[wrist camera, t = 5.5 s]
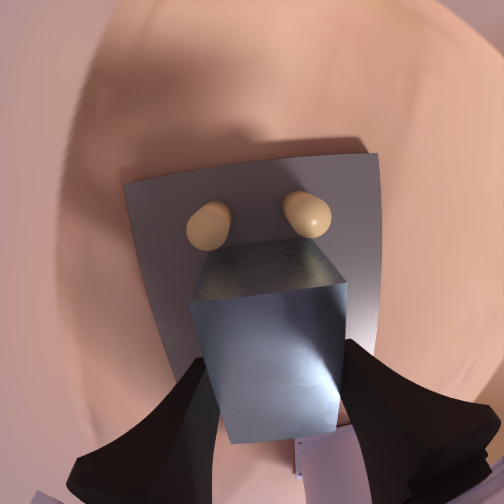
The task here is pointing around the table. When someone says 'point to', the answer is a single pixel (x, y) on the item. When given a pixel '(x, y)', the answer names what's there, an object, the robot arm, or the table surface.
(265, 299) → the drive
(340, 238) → the grey pegged base plate
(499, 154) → the table surface
